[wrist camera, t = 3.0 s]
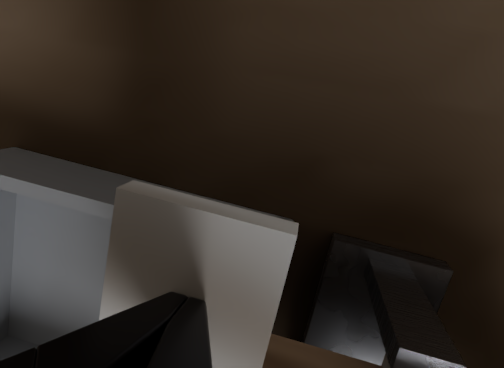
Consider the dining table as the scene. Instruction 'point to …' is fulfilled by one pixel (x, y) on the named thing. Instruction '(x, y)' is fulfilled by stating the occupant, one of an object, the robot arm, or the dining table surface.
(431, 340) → the stand
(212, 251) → the chute
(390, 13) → the dining table surface
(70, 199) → the bin
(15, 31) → the dining table surface
